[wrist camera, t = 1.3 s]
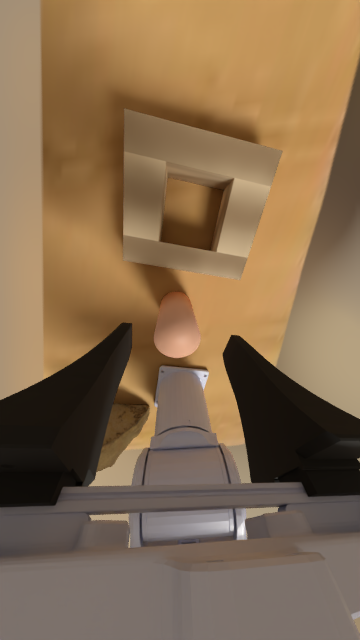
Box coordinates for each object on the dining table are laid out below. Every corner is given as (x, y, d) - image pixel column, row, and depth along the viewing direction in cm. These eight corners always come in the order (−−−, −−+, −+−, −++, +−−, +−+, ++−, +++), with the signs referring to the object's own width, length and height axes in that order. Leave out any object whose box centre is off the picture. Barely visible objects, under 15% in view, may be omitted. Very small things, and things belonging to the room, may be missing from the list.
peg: (188, 321, 21) (195, 360, 14) (159, 317, 21) (151, 355, 14) (193, 293, 20) (205, 321, 12) (162, 289, 19) (156, 314, 12)
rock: (161, 408, 26) (98, 397, 22) (147, 478, 22) (67, 478, 18) (142, 402, 34) (95, 394, 31) (129, 451, 30) (73, 448, 27)
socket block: (230, 275, 19) (240, 280, 16) (130, 258, 18) (123, 260, 15) (262, 168, 15) (282, 150, 12) (134, 136, 13) (124, 108, 11)
